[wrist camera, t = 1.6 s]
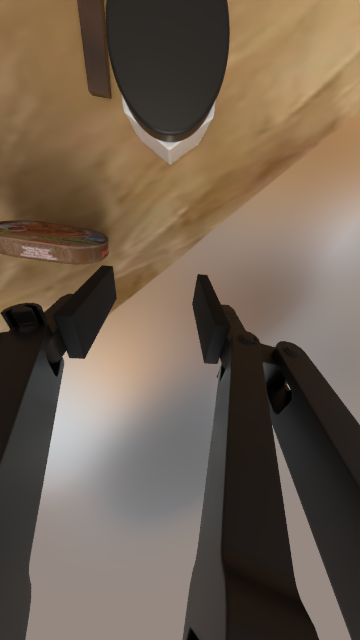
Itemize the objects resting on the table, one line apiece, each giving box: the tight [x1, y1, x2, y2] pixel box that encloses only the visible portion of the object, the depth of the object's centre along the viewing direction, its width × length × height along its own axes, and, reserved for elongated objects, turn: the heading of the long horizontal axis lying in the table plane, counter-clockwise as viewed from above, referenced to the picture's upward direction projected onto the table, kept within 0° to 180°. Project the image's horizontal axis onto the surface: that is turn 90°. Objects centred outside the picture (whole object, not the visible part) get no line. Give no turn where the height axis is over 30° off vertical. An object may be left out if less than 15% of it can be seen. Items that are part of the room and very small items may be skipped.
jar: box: [106, 0, 230, 164], centre depth 16 cm, size 9×8×12 cm
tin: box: [0, 220, 109, 265], centre depth 25 cm, size 15×3×8 cm, turn 81°
